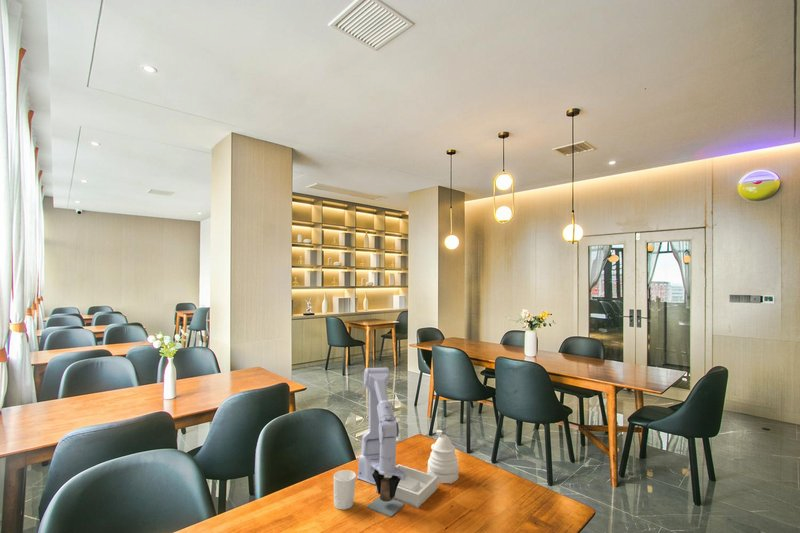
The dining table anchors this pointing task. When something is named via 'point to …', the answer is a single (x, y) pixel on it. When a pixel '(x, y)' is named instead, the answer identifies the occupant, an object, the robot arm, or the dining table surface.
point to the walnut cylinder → (385, 490)
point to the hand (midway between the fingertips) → (386, 494)
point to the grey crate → (414, 486)
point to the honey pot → (443, 460)
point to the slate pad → (385, 506)
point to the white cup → (344, 489)
